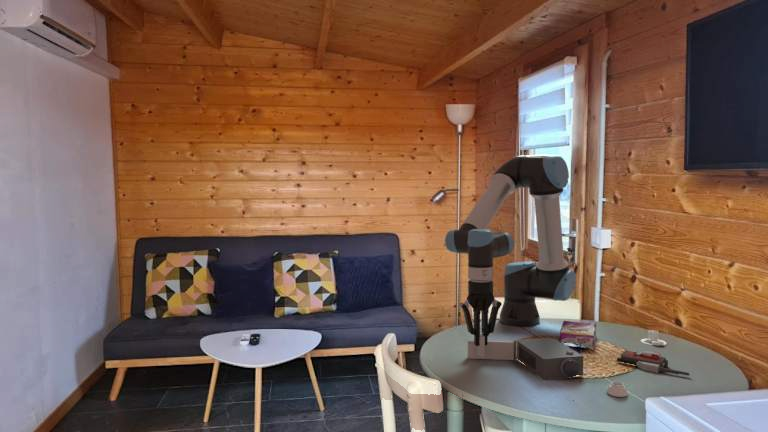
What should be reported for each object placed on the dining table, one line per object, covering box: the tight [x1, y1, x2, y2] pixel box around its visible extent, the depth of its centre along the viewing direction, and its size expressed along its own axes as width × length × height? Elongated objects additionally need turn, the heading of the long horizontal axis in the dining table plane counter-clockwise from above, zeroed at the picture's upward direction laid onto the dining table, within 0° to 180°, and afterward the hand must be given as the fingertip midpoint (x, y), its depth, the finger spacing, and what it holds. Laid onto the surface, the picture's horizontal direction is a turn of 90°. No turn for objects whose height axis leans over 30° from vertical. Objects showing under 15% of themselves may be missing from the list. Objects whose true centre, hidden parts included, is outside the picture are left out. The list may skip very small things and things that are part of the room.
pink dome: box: [606, 381, 629, 398], centre depth 148 cm, size 5×3×5 cm
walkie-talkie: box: [616, 349, 691, 376], centre depth 167 cm, size 9×4×20 cm
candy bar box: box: [558, 320, 597, 350], centre depth 193 cm, size 11×5×16 cm
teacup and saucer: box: [640, 329, 667, 347], centre depth 191 cm, size 9×8×4 cm
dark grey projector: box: [516, 337, 584, 381], centre depth 167 cm, size 20×12×7 cm, turn 11°
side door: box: [467, 339, 517, 361], centre depth 176 cm, size 15×1×6 cm, turn 81°
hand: (480, 355), depth 174 cm, fingers closed
